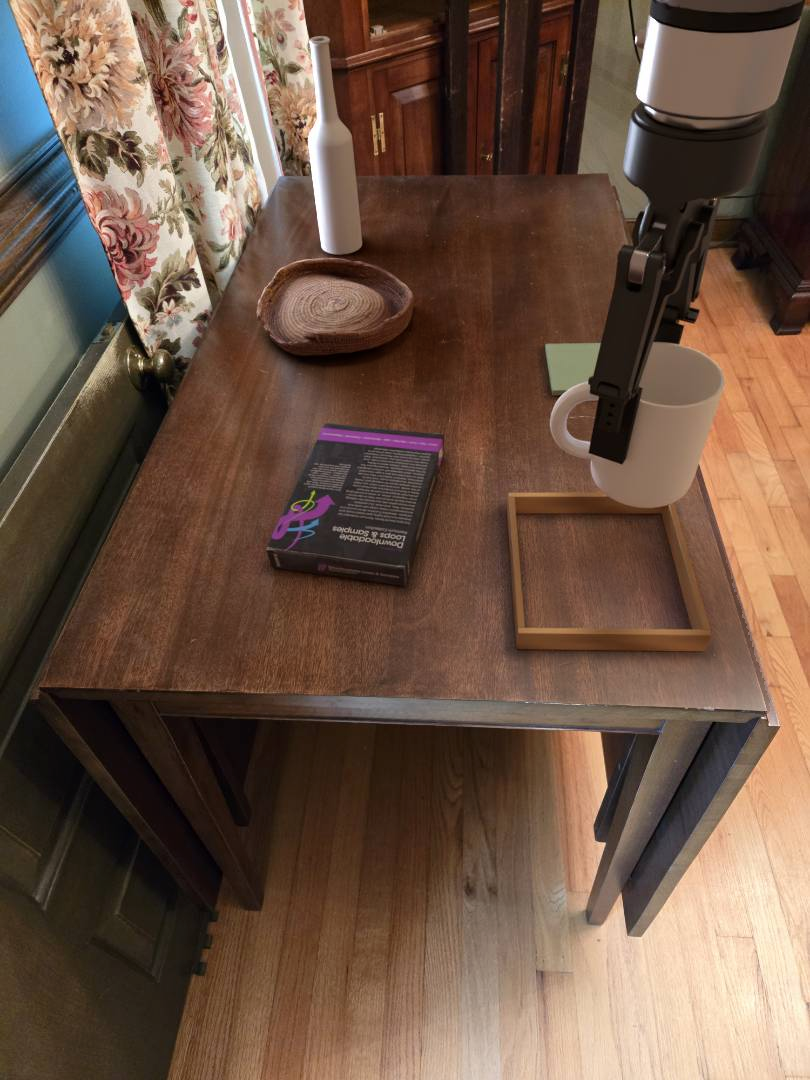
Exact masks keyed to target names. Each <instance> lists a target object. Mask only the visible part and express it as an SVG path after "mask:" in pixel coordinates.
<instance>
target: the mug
mask: <svg viewBox="0 0 810 1080" xmlns="http://www.w3.org/2000/svg"><path fill="white" fill-rule="evenodd" d="M725 385H726V378H725V373H724V371H723V369H722V368H721V366H720V365H719V364H718V363H717V362H716V361H715V360H714V359H713V358H712V357H710V356H709V355H708V354H706V353H704V352H702V351H700V350H698V349H695V348H693V347H690V346H686V345H683V344H674V343H666V342H653V344H652V347H651V350H650V353H649V357H648V360H647V363H646V366H645V369H644V372H643V375H642V378H641V381H640V384H639V387H641V388H643V389H642V393H641V398H640V402H639V406H638V410H637V414H636V419H635V423H634V427H633V431H632V435H631V440H630V444H629V448H628V452H627V456H626V460H625V461H624V463H623V464H619V463H616V462H613V461H610V460H607V459H604V458H601V457H598V456H595V455H593V454H590V453H589V447H590V442H591V441H586V440H581V439H578V438H575V437H574V436H572V435H571V434H570V432H569V430H568V426H567V421H568V417H569V414H570V413H571V411H572V410H573V409H574V408H575V407H576V406H578V405H580V404H582V403H584V402H590V401H591V402H592V401H597V402H598V399H599V397H598V396H595V395H592V394H590V392H589V391H590V385H588V382H584V383H581V384H578V385H576V386H574V387H572V388H570V389H569V390H567V391H566V392H565V393H564V394H562V395H560V396H559V398H558V399H557V400H556V402H555V404H554V405H553V408H552V410H551V413H550V416H549V417H550V418H549V429H550V433H551V436H552V439H553V440H554V442H555V444H556V445H557V446H558V448H560V449H561V450H562V451H564V452H565V453H567V454H569V455H571V456H573V457H576V458H580V459H584V460H590V473H591V477H592V480H593V482H594V483H595V485H596V486H597V488H598V489H599V490H600V491H601V493H605V494H606V495H607V496H609V497H610V498H612V499H614V500H615V501H617V502H620V503H622V504H625V505H629V506H633V507H639V508H655V507H661V506H666V505H669V504H671V503H673V502H674V503H676V502H677V501H678V500H680V499H682V498H683V497H684V496H685V495H686V494H687V492H688V491H689V490H690V488H691V486H692V484H693V481H694V479H695V476H696V474H697V470H698V467H699V465H700V462H701V458H702V456H703V453H704V449H705V446H706V443H707V440H708V438H709V434H710V431H711V429H712V425H713V422H714V419H715V416H716V414H717V410H718V408H719V404H720V400H721V398H722V394H723V392H724V389H725Z"/></svg>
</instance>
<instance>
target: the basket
mask: <svg viewBox="0 0 810 1080" xmlns="http://www.w3.org/2000/svg"><path fill="white" fill-rule="evenodd" d="M414 304H415V301H414V294H413V292H412V291H411V289H410V288H409V287H408V286H407V285H406V284H405V283H404V282H402V281H401V279H399V277H397V276H395V275H394V274H393V273H391V272H389V271H387V270H386V269H384V268H382V267H379V266H378V265H374V264H372V263H366V262H364V261H360V260H358V261H357V260H354V261H352V260H349V259H346V258H341V257H340V258H339V257H338V258H337V257H321V258H310V259H308V258H305V259H301V260H298V261H297V260H296V261H294V262H292V263H289V264H287V265H284V266H283V267H280V268H279V269H278V270H277V271H276V272H275V274H274V276H273V277H272V280H270V281H269V283H268V284H267V286H265V287H264V289H263V291H262V293H261V295H260V298H259V299H258V300H257V307H256V317H257V319H258V321H259V323H260V324H261V326H262V327H263V330H264V331H265V333H266V334H267V336H268V338H270V339H271V340H272V342H274V343H275V344H276V345H277V346H278V347H280V348H281V349H283V351H285V352H287V353H290V354H292V355H295V356H302V357H305V356H324V355H325V356H326V355H327V356H328V355H334V354H335V355H336V354H348V353H349V354H350V353H356V352H360V351H365V350H372V349H376V348H378V347H380V346H383V345H385V344H386V343H389V342H391V341H393V340H394V339H395V338H396V337H398V336H399V335H400V334H402V332H403V331H404V330H405V329H407V327H408V326H409V323H410V321H411V318H412V315H413V311H414V310H413V309H414Z"/></svg>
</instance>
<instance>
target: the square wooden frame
mask: <svg viewBox="0 0 810 1080" xmlns="http://www.w3.org/2000/svg"><path fill="white" fill-rule="evenodd" d="M517 514H566V515H567V514H570V515H571V514H581V515H582V514H583V515H584V514H591V515H592V514H594V515H596V514H597V515H599V514H601V515H602V514H609V515H611V514H612V515H613V514H614V515H616V514H619V515H620V514H622V515H623V514H629V515H630V514H631V515H633V514H635V515H636V514H637V515H639V514H640V515H641V514H643V515H644V514H647V515H649V514H652V515H653V514H654V515H655V514H656V515H657V514H660V515H661V518H662V521H663V525H664V530H665V534H666V537H667V540H668V545H669V548H670V552H671V556H672V559H673V563H674V567H675V570H676V574H677V578H678V583H679V586H680V589H681V594H682V597H683V601H684V604H685V605H684V606H685V608H686V612H687V616H688V619H689V623H690V627H691V629H681V628H680V629H679V628H678V629H677V628H675V629H673V628H670V629H669V628H596V627H595V628H585V627H584V628H583V627H578V628H577V627H526V624H525V611H524V599H523V598H524V597H523V586H522V575H521V574H522V573H521V562H520V548H519V537H518V536H519V535H518V525H517V524H518V523H517ZM506 517H507V518H506V519H507V530H508V546H509V562H510V573H511V574H510V577H511V590H512V591H511V593H512V605H513V617H514V618H513V620H514V634H515V635H514V636H515V648H516V650H559V651H560V650H563V651H564V650H565V651H566V650H568V651H637V652H639V651H640V652H641V651H642V652H643V651H645V652H647V651H648V652H705V651H706V649H707V647H708V644H709V643H710V640H711V639H712V636H713V633H712V630H711V627H710V623H709V620H708V616H707V613H706V609H705V606H704V603H703V598H702V595H701V591H700V588H699V585H698V581H697V578H696V574H695V570H694V568H693V564H692V560H691V557H690V553H689V549H688V546H687V543H686V539H685V536H684V532H683V529H682V526H681V521H680V518H679V515H678V511H677V508H676V504H675V502H673V503H671V504H669V505H666V506H661V507H655V508H639V507H633V506H629V505H625V504H622V503H620V502H617V501H615V500H614V499H612V498H610V497H609V496H607V495H606V494H605V493H603V492H508V493H507V503H506Z"/></svg>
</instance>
